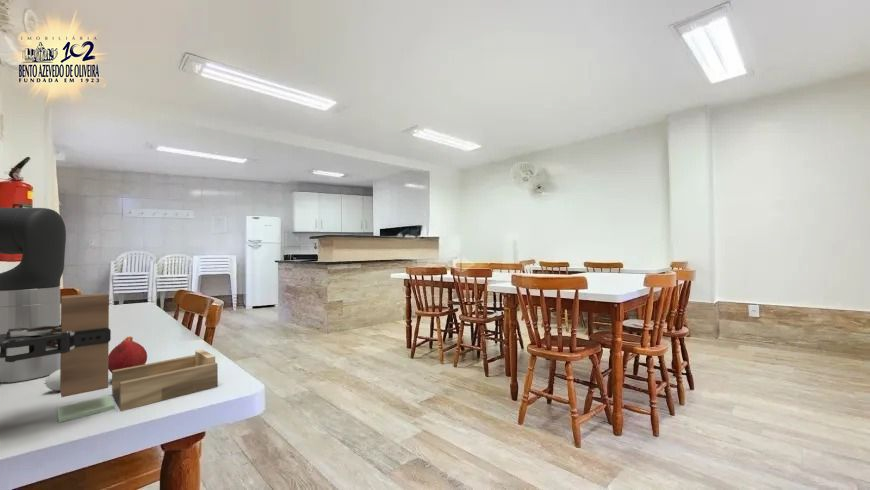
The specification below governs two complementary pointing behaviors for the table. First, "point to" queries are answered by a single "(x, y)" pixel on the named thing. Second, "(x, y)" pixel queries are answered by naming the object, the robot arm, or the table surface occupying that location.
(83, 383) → the post
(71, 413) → the pad
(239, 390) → the table surface
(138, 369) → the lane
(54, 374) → the egg
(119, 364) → the onion
